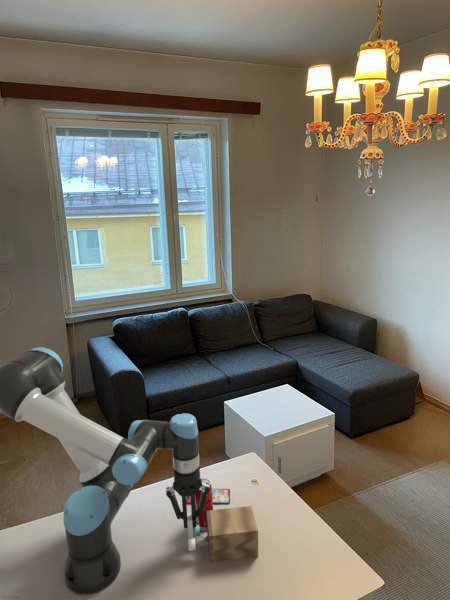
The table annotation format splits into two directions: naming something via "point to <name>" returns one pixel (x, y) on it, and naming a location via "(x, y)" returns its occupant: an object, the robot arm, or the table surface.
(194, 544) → the cream knob
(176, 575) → the table surface
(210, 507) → the beverage can
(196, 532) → the teal knob
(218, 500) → the smartphone
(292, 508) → the table surface
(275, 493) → the table surface
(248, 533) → the console
